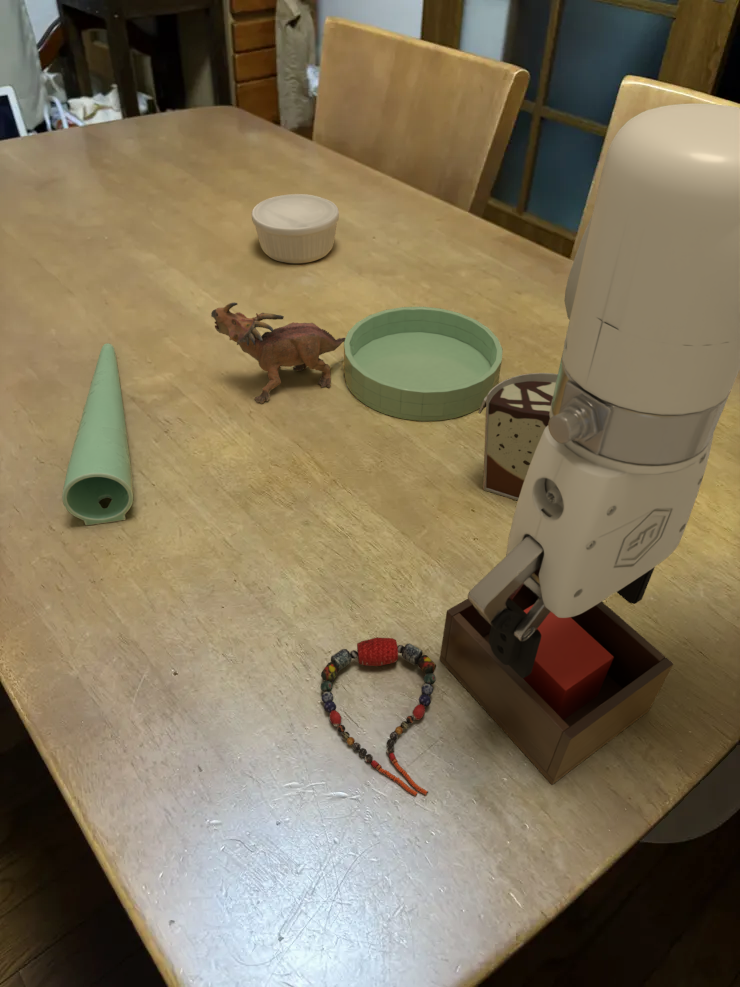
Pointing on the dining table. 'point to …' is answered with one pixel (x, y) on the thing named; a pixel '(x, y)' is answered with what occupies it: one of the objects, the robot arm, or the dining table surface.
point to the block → (567, 665)
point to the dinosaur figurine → (278, 344)
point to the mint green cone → (100, 450)
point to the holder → (527, 713)
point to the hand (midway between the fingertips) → (566, 622)
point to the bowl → (421, 363)
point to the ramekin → (296, 227)
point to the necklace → (378, 655)
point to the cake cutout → (514, 429)
